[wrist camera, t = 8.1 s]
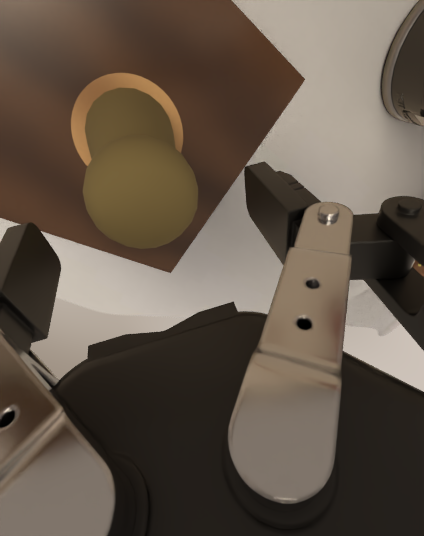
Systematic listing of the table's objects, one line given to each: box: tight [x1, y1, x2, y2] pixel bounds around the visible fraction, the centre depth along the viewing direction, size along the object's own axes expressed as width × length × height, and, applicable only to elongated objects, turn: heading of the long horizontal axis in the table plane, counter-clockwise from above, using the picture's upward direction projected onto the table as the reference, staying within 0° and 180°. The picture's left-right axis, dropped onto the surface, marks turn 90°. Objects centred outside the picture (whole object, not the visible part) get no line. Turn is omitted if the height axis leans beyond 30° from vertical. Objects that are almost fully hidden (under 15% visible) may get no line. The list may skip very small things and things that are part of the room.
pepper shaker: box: [83, 87, 198, 249], centre depth 16 cm, size 6×6×11 cm
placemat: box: [0, 0, 305, 273], centre depth 20 cm, size 20×18×1 cm
